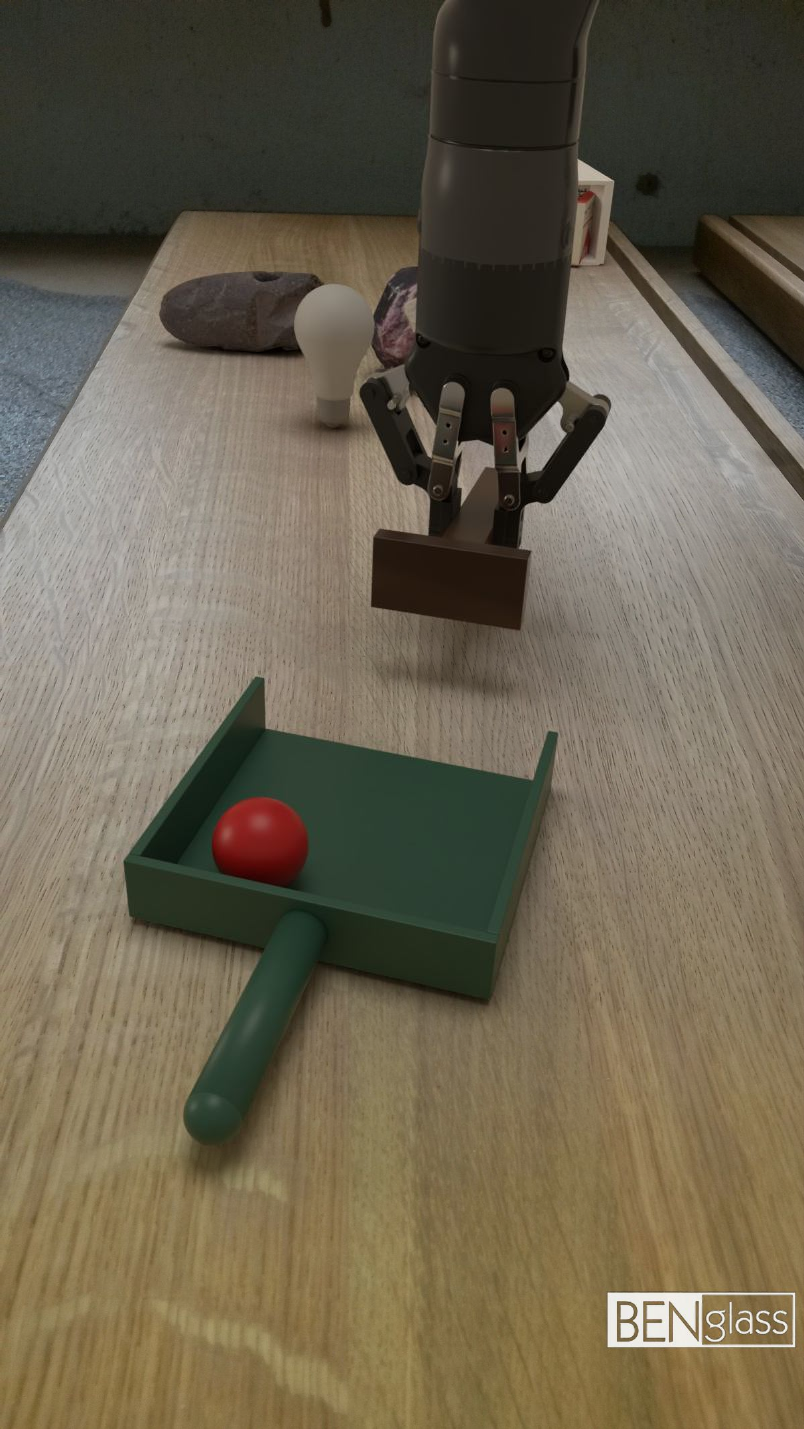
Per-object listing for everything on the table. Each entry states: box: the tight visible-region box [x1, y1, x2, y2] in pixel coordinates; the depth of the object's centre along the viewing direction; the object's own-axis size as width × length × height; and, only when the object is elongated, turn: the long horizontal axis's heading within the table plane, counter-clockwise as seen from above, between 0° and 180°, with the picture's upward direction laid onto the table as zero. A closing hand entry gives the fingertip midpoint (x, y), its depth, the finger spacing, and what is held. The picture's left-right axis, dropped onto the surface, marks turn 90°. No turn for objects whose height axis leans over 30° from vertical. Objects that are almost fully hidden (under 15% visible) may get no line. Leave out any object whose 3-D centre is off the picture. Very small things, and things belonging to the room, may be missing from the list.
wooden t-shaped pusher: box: [370, 466, 533, 632], centre depth 68 cm, size 15×8×4 cm, turn 165°
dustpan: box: [123, 676, 559, 1147], centre depth 49 cm, size 24×15×3 cm, turn 165°
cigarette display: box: [571, 158, 615, 267], centre depth 149 cm, size 20×6×9 cm, turn 10°
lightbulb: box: [294, 283, 374, 428], centre depth 94 cm, size 6×6×11 cm
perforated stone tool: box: [158, 270, 325, 353], centre depth 111 cm, size 15×5×7 cm, turn 88°
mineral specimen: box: [370, 265, 418, 370], centre depth 105 cm, size 10×10×10 cm
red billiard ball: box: [212, 797, 309, 888], centre depth 50 cm, size 4×4×4 cm
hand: (473, 557), depth 69 cm, fingers closed on wooden t-shaped pusher, 2 cm apart
